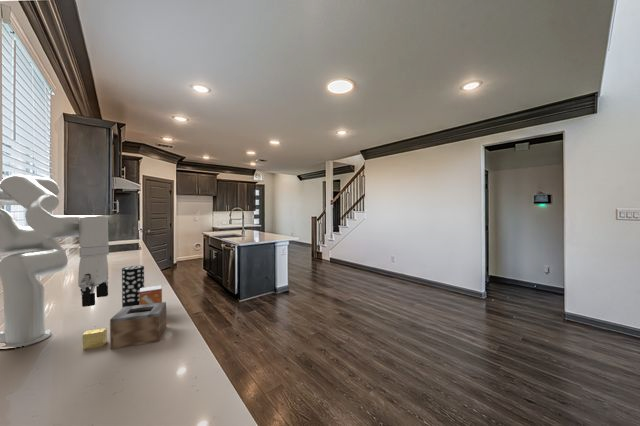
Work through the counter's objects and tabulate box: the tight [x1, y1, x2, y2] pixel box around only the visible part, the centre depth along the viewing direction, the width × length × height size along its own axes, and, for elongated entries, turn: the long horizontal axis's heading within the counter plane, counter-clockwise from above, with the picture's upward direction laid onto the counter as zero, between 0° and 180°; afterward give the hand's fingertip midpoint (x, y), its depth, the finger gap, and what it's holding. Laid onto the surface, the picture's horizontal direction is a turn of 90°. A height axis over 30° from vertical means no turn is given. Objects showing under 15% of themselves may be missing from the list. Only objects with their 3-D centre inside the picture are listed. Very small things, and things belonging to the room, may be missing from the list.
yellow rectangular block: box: [82, 327, 108, 350], centre depth 87 cm, size 6×3×5 cm, turn 111°
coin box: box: [109, 301, 167, 350], centre depth 92 cm, size 14×12×10 cm
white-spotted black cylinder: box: [121, 265, 145, 309], centre depth 117 cm, size 8×8×20 cm
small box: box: [139, 285, 163, 305], centre depth 109 cm, size 8×6×13 cm
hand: (95, 301), depth 87 cm, fingers open, 9 cm apart
